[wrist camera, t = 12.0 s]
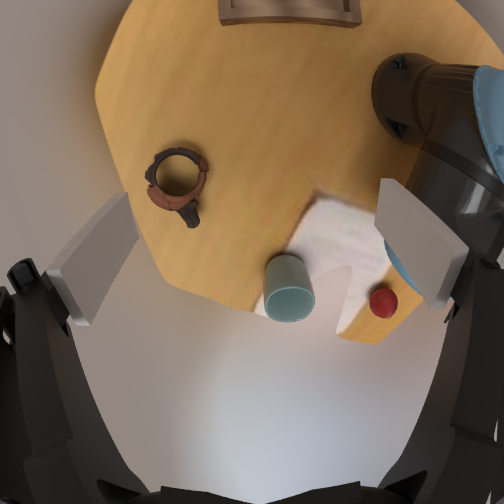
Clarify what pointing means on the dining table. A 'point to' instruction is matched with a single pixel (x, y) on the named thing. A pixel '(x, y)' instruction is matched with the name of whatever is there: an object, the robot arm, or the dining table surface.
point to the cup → (287, 289)
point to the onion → (383, 303)
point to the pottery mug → (178, 203)
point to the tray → (291, 12)
